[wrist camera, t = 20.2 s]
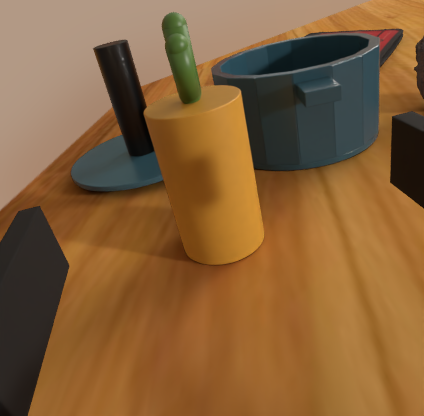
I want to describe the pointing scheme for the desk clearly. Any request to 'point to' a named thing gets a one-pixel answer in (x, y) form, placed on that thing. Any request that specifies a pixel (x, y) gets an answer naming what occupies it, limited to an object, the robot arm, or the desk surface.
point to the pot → (307, 98)
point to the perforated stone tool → (420, 66)
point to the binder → (387, 39)
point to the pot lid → (130, 127)
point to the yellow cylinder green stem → (205, 158)
